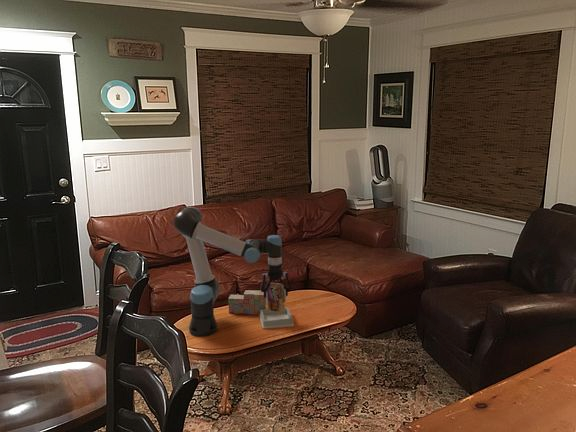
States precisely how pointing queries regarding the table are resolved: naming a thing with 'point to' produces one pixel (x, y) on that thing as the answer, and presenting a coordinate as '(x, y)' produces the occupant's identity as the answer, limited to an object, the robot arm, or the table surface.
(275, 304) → the candy box
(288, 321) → the open storage bin
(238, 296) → the stack of blocks
